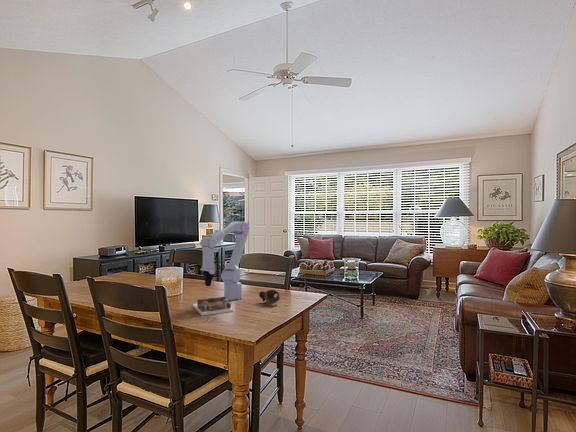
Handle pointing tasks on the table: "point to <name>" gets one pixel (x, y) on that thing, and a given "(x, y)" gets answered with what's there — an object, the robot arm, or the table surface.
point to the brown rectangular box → (213, 303)
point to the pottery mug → (269, 296)
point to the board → (208, 312)
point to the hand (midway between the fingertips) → (208, 285)
